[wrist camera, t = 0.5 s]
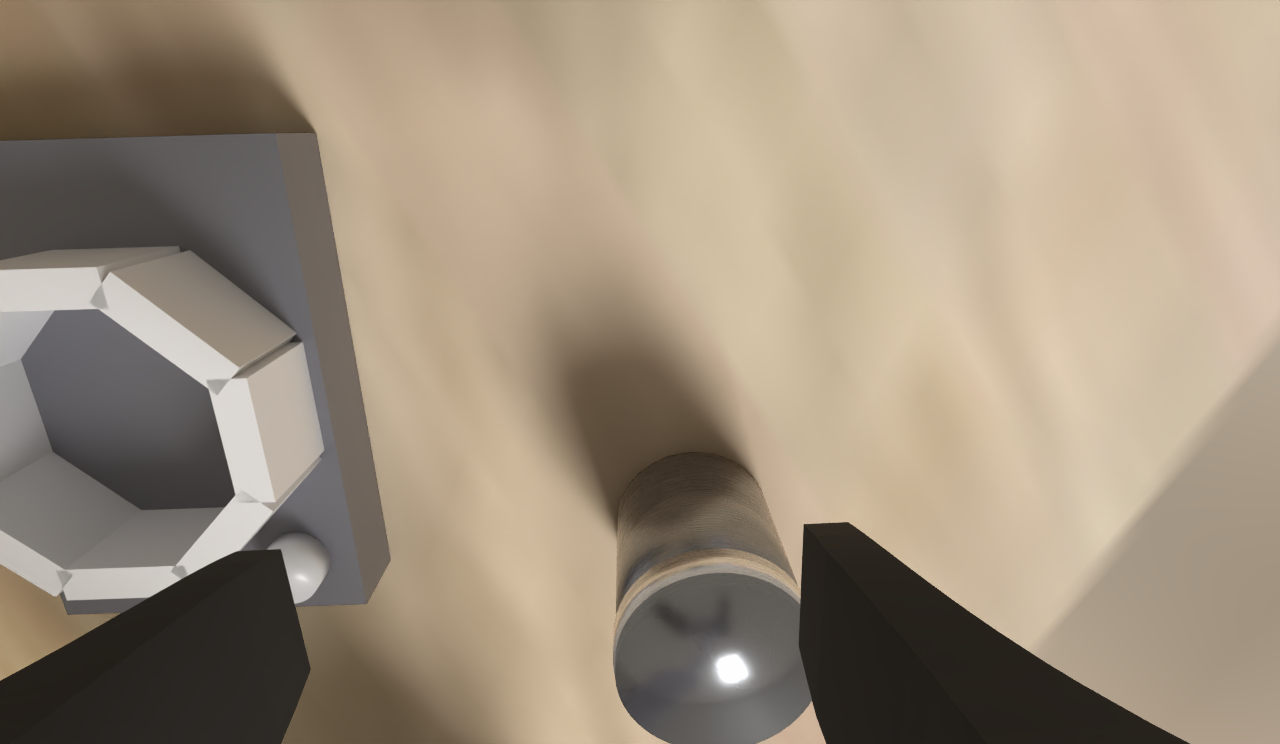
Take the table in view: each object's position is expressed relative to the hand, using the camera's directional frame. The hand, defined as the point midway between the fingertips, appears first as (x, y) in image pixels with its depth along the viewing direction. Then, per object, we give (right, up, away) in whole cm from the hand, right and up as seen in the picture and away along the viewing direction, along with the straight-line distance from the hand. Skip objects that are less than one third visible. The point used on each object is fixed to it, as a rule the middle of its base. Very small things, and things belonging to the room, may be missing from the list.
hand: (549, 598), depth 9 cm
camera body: (-10, +3, +9) cm, 14 cm away
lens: (+3, -1, +11) cm, 11 cm away
